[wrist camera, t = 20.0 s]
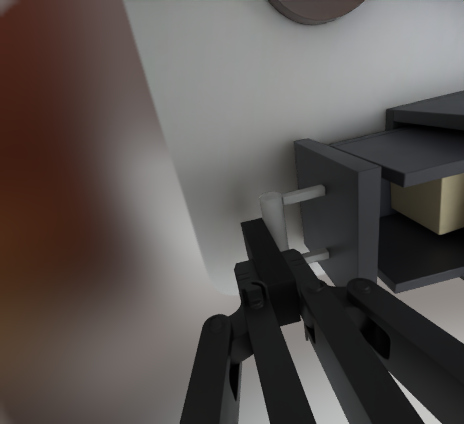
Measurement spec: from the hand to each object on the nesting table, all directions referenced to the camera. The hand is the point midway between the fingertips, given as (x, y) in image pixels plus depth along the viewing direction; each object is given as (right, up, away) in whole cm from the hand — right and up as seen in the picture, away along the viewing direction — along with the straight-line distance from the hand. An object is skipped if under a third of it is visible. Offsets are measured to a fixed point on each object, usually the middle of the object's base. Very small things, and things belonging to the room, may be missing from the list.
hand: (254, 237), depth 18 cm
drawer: (+9, +4, +4) cm, 11 cm away
